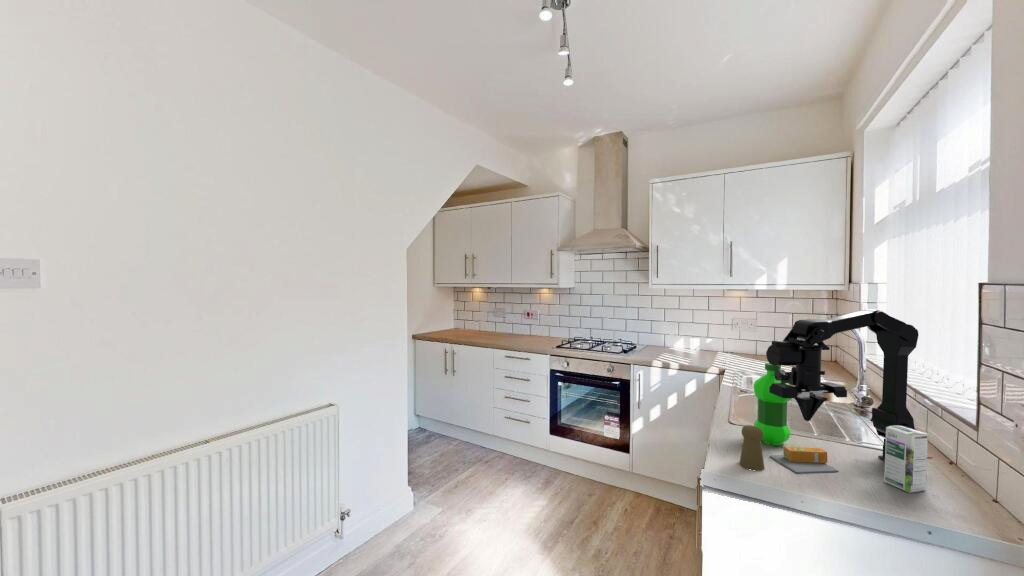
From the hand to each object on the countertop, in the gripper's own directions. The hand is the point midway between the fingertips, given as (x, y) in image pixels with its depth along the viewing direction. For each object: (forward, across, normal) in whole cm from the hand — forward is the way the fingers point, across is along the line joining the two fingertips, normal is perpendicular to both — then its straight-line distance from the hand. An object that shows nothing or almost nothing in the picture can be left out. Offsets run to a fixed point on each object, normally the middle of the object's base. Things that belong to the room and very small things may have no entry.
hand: (806, 420), depth 112 cm
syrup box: (+13, -15, +13) cm, 24 cm away
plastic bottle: (+13, -1, -15) cm, 20 cm away
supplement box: (+10, -6, 0) cm, 12 cm away
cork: (+13, +16, 0) cm, 20 cm away
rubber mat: (+12, +1, 0) cm, 12 cm away
